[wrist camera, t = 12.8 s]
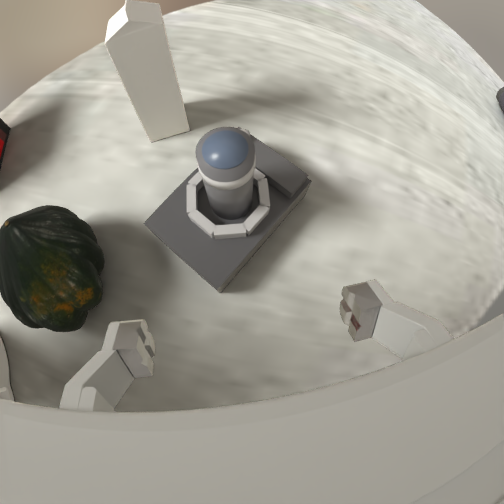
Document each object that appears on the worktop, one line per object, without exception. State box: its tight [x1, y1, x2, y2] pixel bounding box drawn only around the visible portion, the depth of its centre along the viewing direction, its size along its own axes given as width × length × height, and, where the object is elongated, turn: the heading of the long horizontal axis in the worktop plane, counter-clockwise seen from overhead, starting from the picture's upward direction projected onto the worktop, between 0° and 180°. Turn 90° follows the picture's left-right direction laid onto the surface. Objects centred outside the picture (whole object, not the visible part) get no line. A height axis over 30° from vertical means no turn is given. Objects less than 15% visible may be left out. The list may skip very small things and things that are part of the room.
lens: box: [196, 127, 256, 220], centre depth 26 cm, size 5×5×10 cm
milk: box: [105, 0, 190, 142], centre depth 27 cm, size 6×6×22 cm
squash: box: [0, 205, 104, 332], centre depth 27 cm, size 14×15×15 cm
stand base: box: [144, 127, 311, 293], centre depth 32 cm, size 16×11×6 cm
